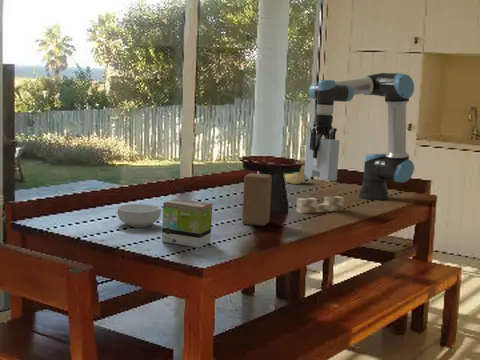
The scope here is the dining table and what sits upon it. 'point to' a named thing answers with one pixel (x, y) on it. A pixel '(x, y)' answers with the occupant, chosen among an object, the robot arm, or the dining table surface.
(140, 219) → the cereal bowl
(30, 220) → the dining table surface
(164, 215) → the tea box
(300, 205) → the maple rail
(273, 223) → the dining table surface
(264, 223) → the wooden block
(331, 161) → the grey board
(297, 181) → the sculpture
